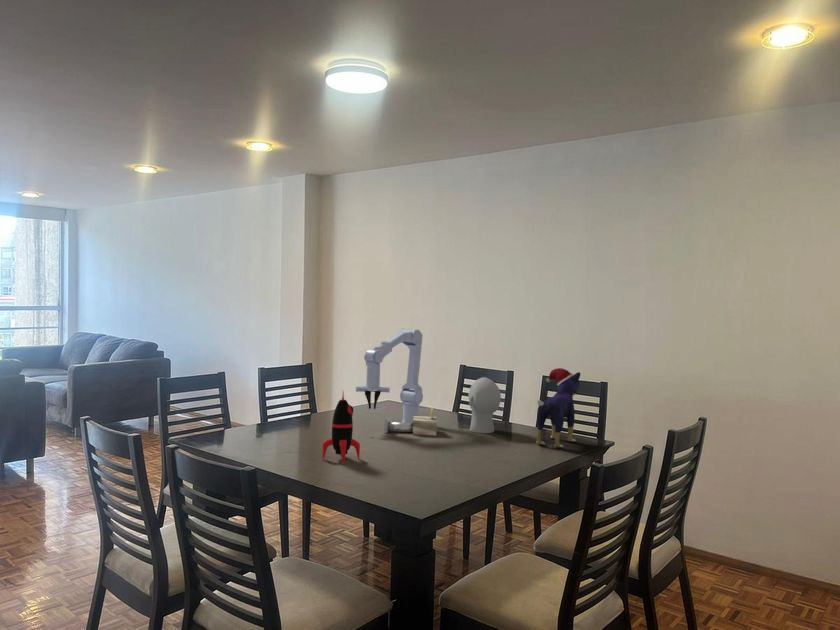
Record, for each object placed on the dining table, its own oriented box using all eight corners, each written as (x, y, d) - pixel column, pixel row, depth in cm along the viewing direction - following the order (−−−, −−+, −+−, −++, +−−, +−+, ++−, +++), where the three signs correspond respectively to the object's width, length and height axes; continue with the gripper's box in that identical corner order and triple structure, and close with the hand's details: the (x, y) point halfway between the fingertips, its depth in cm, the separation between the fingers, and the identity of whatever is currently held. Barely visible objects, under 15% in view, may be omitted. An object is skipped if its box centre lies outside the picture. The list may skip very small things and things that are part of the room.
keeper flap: (430, 416, 275) (430, 407, 275) (432, 416, 275) (432, 407, 275) (430, 419, 268) (431, 410, 268) (433, 419, 268) (433, 410, 268)
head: (488, 420, 293) (495, 371, 285) (500, 439, 277) (507, 388, 269) (458, 420, 290) (465, 371, 282) (469, 440, 273) (476, 388, 266)
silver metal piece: (384, 429, 275) (385, 416, 275) (417, 430, 275) (417, 417, 275) (384, 433, 268) (384, 419, 268) (417, 433, 268) (418, 420, 268)
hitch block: (412, 429, 277) (413, 415, 276) (435, 430, 277) (435, 416, 277) (412, 434, 267) (413, 420, 266) (436, 435, 267) (436, 421, 267)
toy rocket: (342, 464, 216) (344, 392, 215) (320, 459, 222) (322, 389, 221) (361, 459, 224) (363, 389, 224) (339, 454, 230) (341, 386, 229)
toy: (585, 437, 272) (587, 369, 271) (550, 455, 239) (553, 377, 238) (550, 432, 281) (552, 365, 280) (512, 448, 248) (515, 373, 247)
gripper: (355, 378, 266) (354, 409, 267) (389, 379, 267) (388, 410, 267) (357, 375, 274) (356, 406, 274) (390, 376, 274) (389, 407, 274)
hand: (372, 408), depth 271 cm, fingers closed
